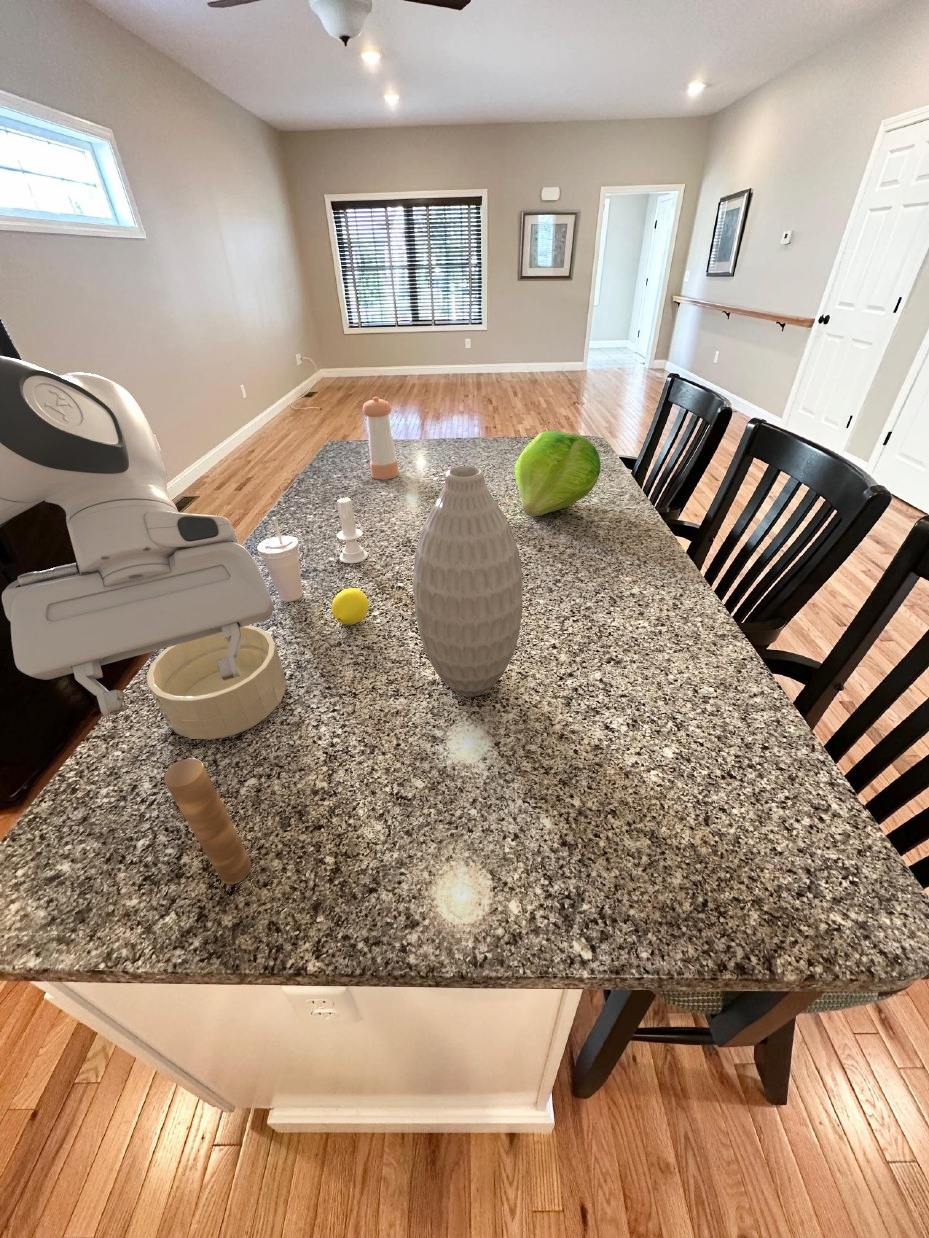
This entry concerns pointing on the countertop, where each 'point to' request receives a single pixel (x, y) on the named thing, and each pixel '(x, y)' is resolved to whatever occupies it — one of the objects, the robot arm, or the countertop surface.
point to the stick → (208, 819)
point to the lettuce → (556, 471)
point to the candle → (349, 533)
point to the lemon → (350, 606)
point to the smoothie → (283, 564)
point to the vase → (468, 585)
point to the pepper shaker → (380, 439)
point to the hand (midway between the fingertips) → (175, 694)
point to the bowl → (217, 685)
